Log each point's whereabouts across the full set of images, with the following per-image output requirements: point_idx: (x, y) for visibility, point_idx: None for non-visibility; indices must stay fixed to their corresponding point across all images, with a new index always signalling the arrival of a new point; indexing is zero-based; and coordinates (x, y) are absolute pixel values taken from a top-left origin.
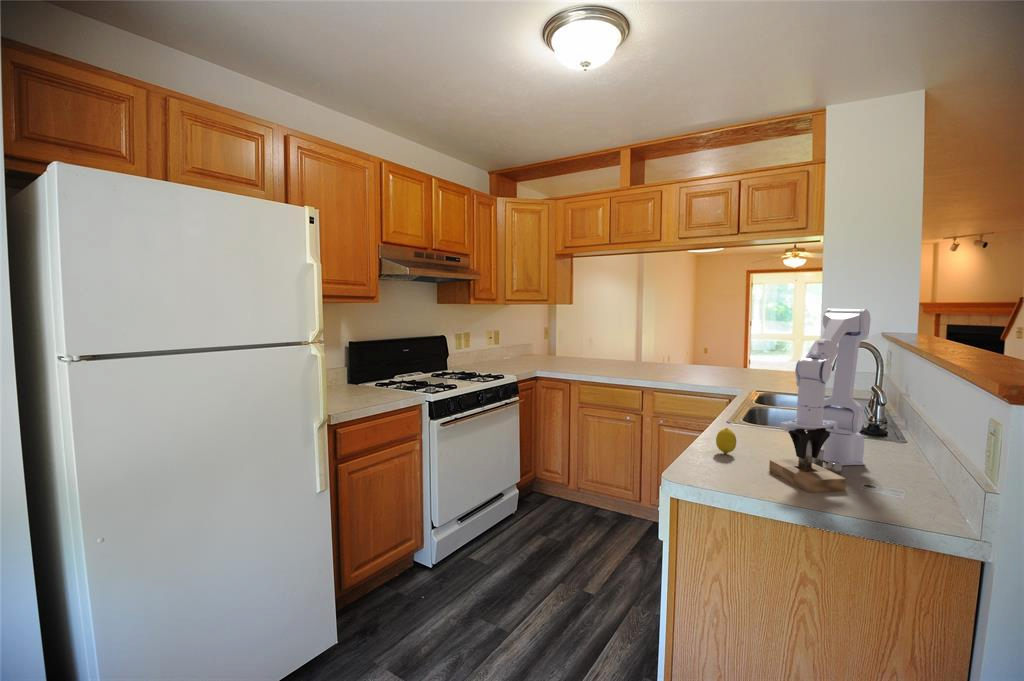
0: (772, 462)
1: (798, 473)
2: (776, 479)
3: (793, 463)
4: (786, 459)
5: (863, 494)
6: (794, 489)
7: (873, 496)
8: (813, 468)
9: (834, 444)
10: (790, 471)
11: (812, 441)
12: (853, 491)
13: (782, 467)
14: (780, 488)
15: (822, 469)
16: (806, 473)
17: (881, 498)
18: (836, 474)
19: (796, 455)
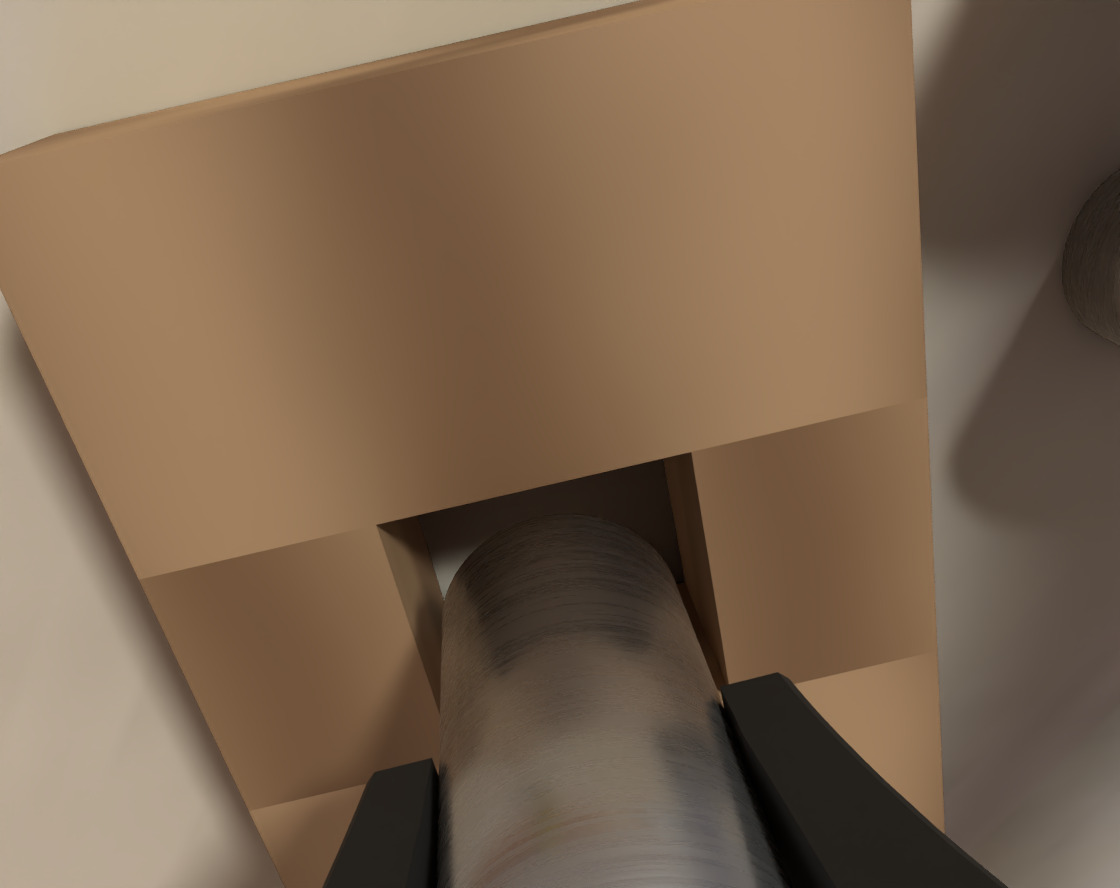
0: (6, 269)
1: (310, 837)
2: (79, 540)
3: (464, 350)
4: (421, 72)
5: (1001, 819)
6: (226, 826)
7: (1067, 847)
8: (724, 575)
9: None
10: (220, 742)
11: None
12: (955, 763)
13: (140, 564)
14: (41, 829)
15: (859, 602)
16: None
17: (1106, 876)
18: (928, 772)
19: (361, 798)
